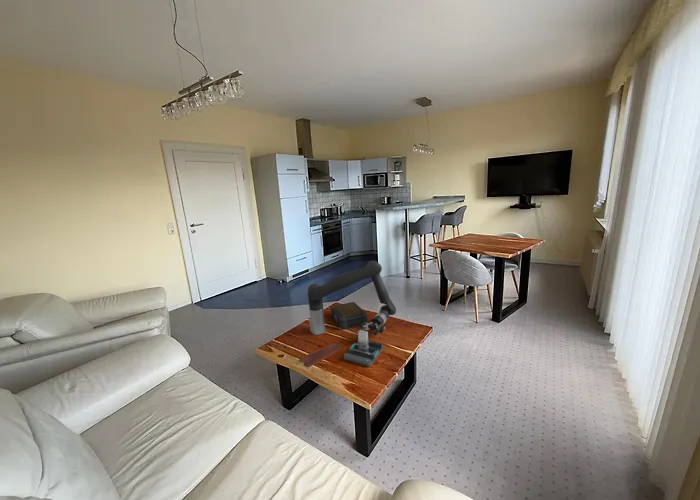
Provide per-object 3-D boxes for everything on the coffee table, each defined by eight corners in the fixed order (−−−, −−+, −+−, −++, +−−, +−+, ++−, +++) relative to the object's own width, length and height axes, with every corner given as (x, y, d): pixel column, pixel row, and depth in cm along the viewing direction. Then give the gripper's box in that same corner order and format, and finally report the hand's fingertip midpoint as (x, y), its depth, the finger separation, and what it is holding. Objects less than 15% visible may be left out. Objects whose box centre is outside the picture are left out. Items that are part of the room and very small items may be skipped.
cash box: (329, 316, 216) (329, 306, 214) (354, 310, 224) (353, 301, 222) (341, 330, 194) (340, 320, 192) (368, 323, 201) (368, 313, 199)
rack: (344, 359, 161) (344, 354, 161) (358, 343, 177) (358, 338, 176) (370, 366, 154) (369, 361, 153) (382, 349, 169) (382, 344, 168)
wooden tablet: (308, 369, 156) (307, 366, 156) (298, 361, 163) (297, 359, 163) (344, 348, 173) (344, 346, 173) (334, 342, 180) (334, 340, 180)
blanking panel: (359, 352, 165) (357, 331, 162) (361, 349, 167) (359, 329, 164) (366, 354, 163) (365, 333, 160) (368, 351, 165) (367, 331, 162)
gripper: (368, 313, 184) (356, 324, 171) (389, 317, 178) (378, 329, 164) (368, 324, 186) (357, 336, 172) (389, 328, 179) (379, 341, 166)
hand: (367, 332), depth 168 cm, fingers open, 8 cm apart
